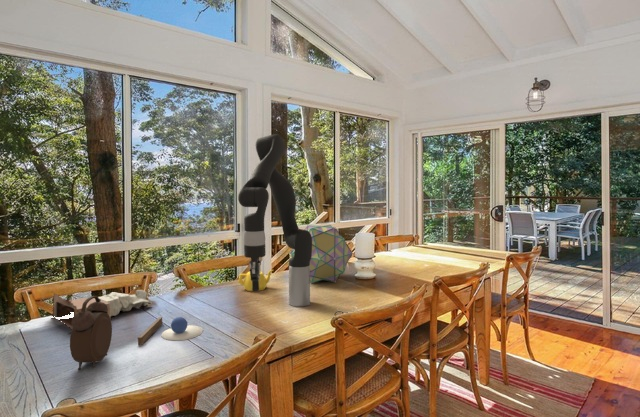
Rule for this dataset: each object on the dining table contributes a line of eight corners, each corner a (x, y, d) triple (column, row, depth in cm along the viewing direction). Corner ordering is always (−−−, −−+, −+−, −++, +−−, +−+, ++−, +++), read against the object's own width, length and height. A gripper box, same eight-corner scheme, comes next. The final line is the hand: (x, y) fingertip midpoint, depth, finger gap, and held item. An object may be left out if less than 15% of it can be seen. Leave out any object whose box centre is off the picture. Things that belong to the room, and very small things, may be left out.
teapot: (274, 287, 204) (273, 268, 204) (256, 293, 193) (256, 273, 192) (253, 284, 212) (253, 265, 211) (235, 289, 200) (235, 270, 200)
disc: (206, 325, 150) (206, 324, 150) (197, 340, 136) (197, 339, 136) (168, 326, 150) (168, 325, 150) (155, 341, 136) (155, 340, 136)
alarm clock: (91, 353, 126) (88, 291, 125) (114, 352, 126) (112, 290, 125) (65, 375, 111) (62, 305, 110) (92, 374, 112) (89, 304, 111)
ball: (171, 324, 146) (183, 333, 146) (165, 328, 140) (178, 338, 140) (180, 312, 146) (192, 321, 146) (175, 316, 140) (187, 325, 140)
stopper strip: (162, 323, 152) (162, 317, 152) (141, 344, 132) (141, 337, 132) (159, 323, 152) (158, 317, 152) (138, 344, 132) (137, 337, 132)
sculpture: (282, 281, 216) (282, 226, 214) (314, 271, 240) (314, 222, 238) (328, 290, 199) (328, 230, 197) (358, 278, 223) (358, 225, 221)
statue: (161, 313, 167) (161, 289, 166) (65, 335, 142) (64, 308, 141) (138, 300, 183) (137, 279, 183) (48, 318, 158) (47, 294, 158)
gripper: (263, 246, 136) (264, 295, 137) (266, 240, 149) (267, 285, 150) (241, 246, 135) (242, 296, 137) (246, 240, 149) (247, 286, 150)
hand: (255, 290), depth 144 cm, fingers closed
